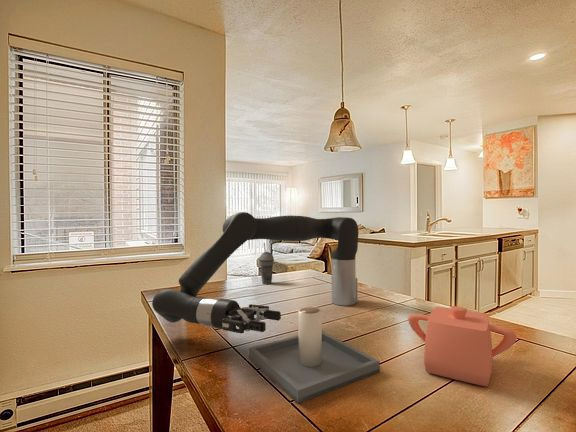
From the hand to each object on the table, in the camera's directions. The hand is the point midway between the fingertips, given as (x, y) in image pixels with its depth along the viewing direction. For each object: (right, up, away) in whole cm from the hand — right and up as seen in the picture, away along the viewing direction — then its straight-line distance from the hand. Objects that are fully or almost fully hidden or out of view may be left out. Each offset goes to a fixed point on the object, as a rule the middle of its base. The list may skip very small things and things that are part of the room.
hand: (273, 321), depth 79 cm
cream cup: (+9, -8, -4) cm, 13 cm away
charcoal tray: (+9, -9, -4) cm, 13 cm away
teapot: (+44, -9, -3) cm, 45 cm away
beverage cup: (-7, -7, +79) cm, 80 cm away
